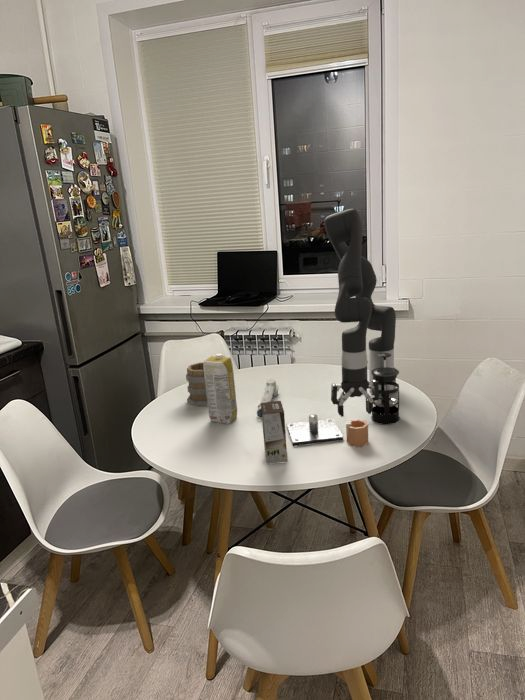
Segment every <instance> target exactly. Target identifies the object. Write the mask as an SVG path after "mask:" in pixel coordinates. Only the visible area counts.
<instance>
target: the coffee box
mask: <svg viewBox="0 0 525 700" xmlns="http://www.w3.org/2000/svg"><path fill="white" fill-rule="evenodd" d="M261 413H262V418H261V423H262V424H261V425H262V434H263V443H264V444H263V445H264V454H265V455H264V456H265V460H266V464H267V465H270V464H271V465H273V464H279V463H287V462H288V452H287V451H288V449H287V434H286V421H285V420H286V419H285V418H286V417H285V410H284V408H283V403H282V401H281V400H271V402H265V403H261Z"/></svg>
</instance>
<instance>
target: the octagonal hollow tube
mask: <svg viewBox="0 0 525 700" xmlns="http://www.w3.org/2000/svg"><path fill="white" fill-rule="evenodd" d="M345 428H346V429H345V431H346V433H345V434H346V442H347V444H348V445H349V446H352V447H356V448H357V447H364V446H365V447H366V445H367V444H368V443H369V424H368V422H367V421H366V420H362V419H351V420H349V421H347V422H346V423H345Z"/></svg>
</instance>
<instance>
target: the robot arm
mask: <svg viewBox="0 0 525 700" xmlns="http://www.w3.org/2000/svg"><path fill="white" fill-rule="evenodd" d="M323 222H324V229H325V232H326V236H327V238H328V240H329V241H330V243H331V245H332V247H333V249H334V251H335V253H336V256H337V257H338V259H339V261H340V262H339V265H338V269H337V280H338V295H337V298H336V299H337V300H336V303H335V306H334V317H335V318H336V320H337V321H338V322H340V323H344V324H345V323H357V325H356V326H354V327H351V328H348V329H345V330H343V331H342V333H341V358H340V359H341V383H339V384H338V383H335V382H333V383H331V387H330V388H331V389H330V390H331V391H330V396H331V397H330V401H331V403H332V405H337V413H338V415H339V416H340V417H341V418H343V417H345V416H344V413H345V412H344V404H345V402H346V401H347V400H349V397H350V398H355V397H358V398H360V397H362V396H364V398H365V399H366V398H367V412H366V413H368V415H370V414H371V415H372V412H373V407H374V404H373V402H374V401H375V400H379V397H380V396H381V394H379V390H381V385H378V381H376V380H375V379H373V375H372V374H371V371H372V370H373V369H376V368H381V367H384V360H383V357H379V356H378V355H379V354H380V353H389V354H391V356H390V357H386V360H385V367H389V368H394V369H397V368H396V367H395V341H396V323H397V316H396V315H397V314H396V311H395V309H394V307H392V306H385V305H376V304H375V303H374V302H373V299H372V296H373V293H374V290H375V288H376V286H377V276H376V275H377V274H376V273H375V270H374V267H373V265H372V263H371V261H369V260H368V258H366V257H365V256H363V255H362V253H363V252H362V250H363V223H362V218H361V216H360V214H359V212H358V210H357V209H355V208H349V209H346V210H342V211H339V212H335V213H333V214H330V215H327V216H326V217H325V218H324V221H323ZM348 241H349V244H347V243H346V242H348ZM368 330H371V331H379V332H381V334H380V336H378V337H373V338H372V339H370V340H369V341H368V354H367V332H368ZM368 374H369V375H368ZM368 377H369V381H368ZM396 379H397V378H396ZM396 379H395V380H394V381H392V382H395V383H397V380H396ZM369 386H371V387H372V388H373V391H372V392H373V395H372V392H371V388H369V392H370V394H371V395H370V394H369V393H368V391H367V392H366V389H367V388H368V387H369ZM396 388H397V387H396V386H393V385H386V390H393V389H396ZM340 389H342V392H341V393H340V395H339V398H338V392H339V391H340ZM367 390H368V389H367Z"/></svg>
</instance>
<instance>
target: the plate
mask: <svg viewBox="0 0 525 700" xmlns="http://www.w3.org/2000/svg"><path fill="white" fill-rule="evenodd" d="M286 430H287V433H288V435H289V438H290V441H291V444H292V446H293V447H296V446H305V445H313V444H321V443H330V442H341V441H344V435H343V434H342V432H341V430H340V428H339V427H338V425H337V423H336V421H335V420H334V418H325V419H318V415H317V414H315V413H311V414H308V421H299V422H291V423H286Z"/></svg>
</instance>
